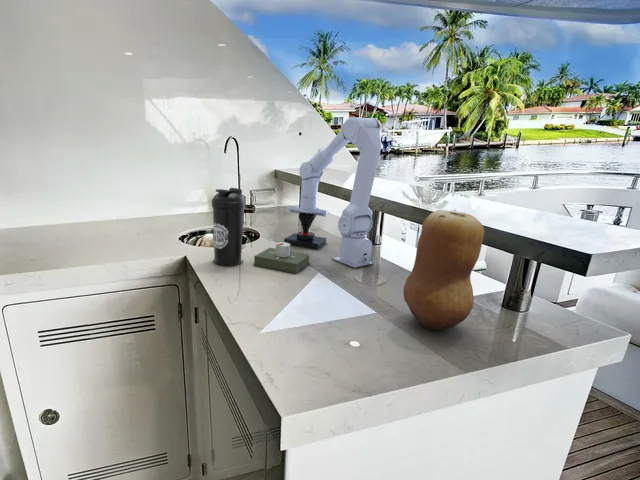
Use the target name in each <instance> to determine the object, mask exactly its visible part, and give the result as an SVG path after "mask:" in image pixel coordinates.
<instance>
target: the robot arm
mask: <svg viewBox="0 0 640 480" xmlns="http://www.w3.org/2000/svg"><path fill="white" fill-rule="evenodd" d="M382 130H383V125H382V124H381V123H380V121H379V120H378V119H377V118H376V117H356V116H349V117H348V118H347V119H346V120H345V121H344V122H343V123H342V124H341V126H340V131H338V133H337V134H336V135H335V136H334V138H333V139H332V140H331V141H330V143H329V144H328V145H327V146H326V147H321V148H318V149H317V152H316V153H315V154H314V155H313V156H312V157H310V159H309V160H308V161H304V162H302V163H301V165H300V167H299V169H298V173H299V177H300V178H301V190H300V204H299V206H291V205H289V206H288V207H287V209H288V210H287V213H295V214H298V219H299V222H300V224H301V227H302V232H303V234H308V233H309V232H310V229H311V226H312V224H313V222H314V220H315V218H316V216H319V217H324V218H326V217H328V214H329V210H326V209H319V208H317V200H318V189H319V184H320V182H321V178H322V176H323V174H324V170H325V169H327V167H328V166H329V165H331V164H332V162H333V161H334V159H335V155H337V153H339V152H340V150H342V149H343V148H344V147H346V145H348V144H349V143H351V144H352V145H353V146H355V147H356V148H357V150H358V151H359V157H358V160H357V166H356V172H355V176H354V181H353V185H352V191H351V195H350V201H349V203H348V205H347V206H346V207H344V208H343V210H342V213H341V215H340V217H339V219H338V221H337V229H338V231H339V232H340V236H341V242H340V249H339V256H337V257H333V260H334V261H337V262H339V263H342V264H344V265H347V266H350V267H352V268H359V267H360V268H361V267H363V266H364V267H365V266H368V265H372V260H371V259H372V253H373V242H372V240H371V239H368V238H367V236H368V232H370V231H371V229H372V227H373V214H374V212H373V210H372V209H371V208H370V207H369V203H370V199H371V194H372V190H373V189H372V188H373V185H374V183H375V182H374V181H375V177H376V172H377V167H378V163H379V159H380V155H381V151H382V140H381V136H382V135H381V134H382Z"/></svg>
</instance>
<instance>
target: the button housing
mask: <svg viewBox="0 0 640 480" xmlns="http://www.w3.org/2000/svg"><path fill="white" fill-rule="evenodd" d="M302 232H303V231H298V232H294V233H292V234H290V235H288V236H286V237H285V238H284V239H283V242H285V243H289V244H290V246H292V247H297V248H303V249H304V248H305V249H310V250H319V249H321V248H322V247H323V246H324V245H326V244H327V237H322V236H316V234H315V233H314V232H311V231H309V233H311V235H302V234H301V233H302Z"/></svg>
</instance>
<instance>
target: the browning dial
mask: <svg viewBox="0 0 640 480" xmlns="http://www.w3.org/2000/svg"><path fill="white" fill-rule="evenodd" d="M275 249H276V252H275V255H276V256H278V257H288V256H289V254H290V251H291V245H290V244H289V243H285V242H284V241H281V242H280V241H278V242H276V243H275Z"/></svg>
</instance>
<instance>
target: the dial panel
mask: <svg viewBox="0 0 640 480" xmlns="http://www.w3.org/2000/svg"><path fill="white" fill-rule="evenodd" d="M275 252H276V247H275V248H274V247H268V248H266V249H264V250H263V251H261V252H259V253H257V254H255V255H254V262H253V265H254V266H256V267H262V268H265V269H266V268H267V269H272V270H276V271H282V272H287V273H291V274H298V273H299V272H300V271H301V270H303V269H304V268H305V267H307V265H309V264H310V253H309V254H308V253H303V252H297V251H292V250H290V254H289V256H288V257H278V256H276V255H275Z"/></svg>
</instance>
